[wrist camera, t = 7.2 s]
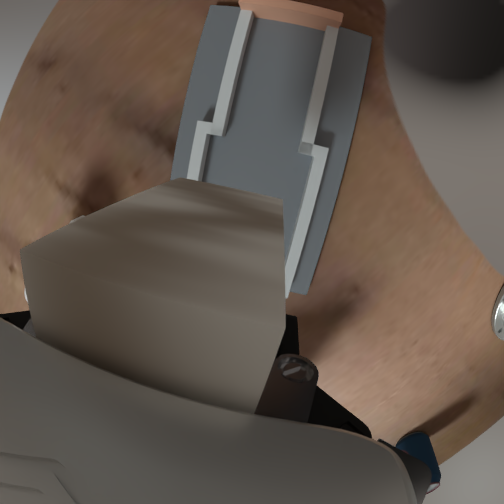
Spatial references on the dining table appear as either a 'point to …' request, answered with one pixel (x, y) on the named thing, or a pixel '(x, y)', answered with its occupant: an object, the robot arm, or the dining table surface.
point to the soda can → (422, 454)
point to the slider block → (168, 290)
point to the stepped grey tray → (275, 114)
